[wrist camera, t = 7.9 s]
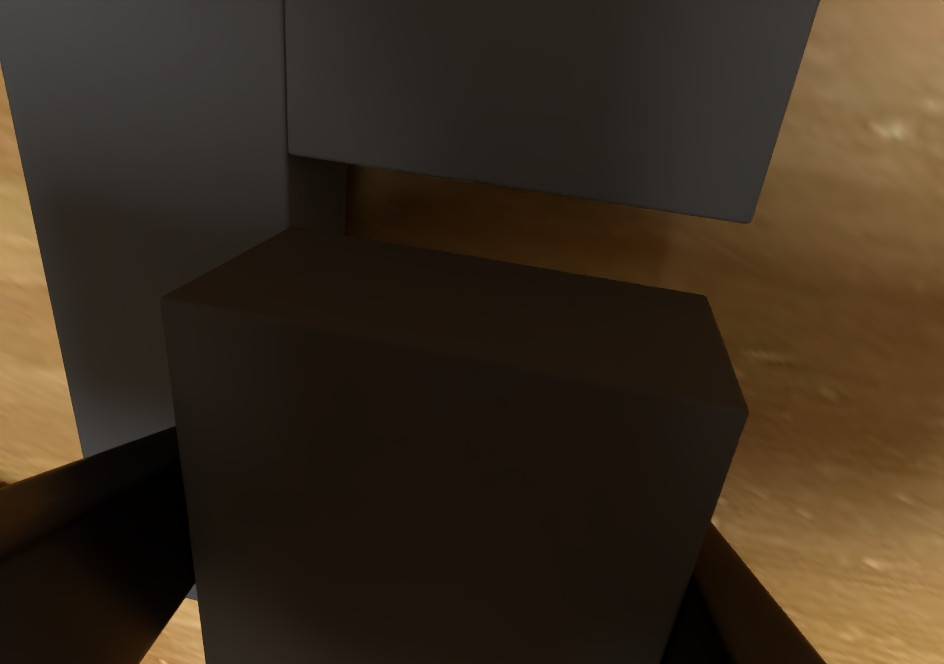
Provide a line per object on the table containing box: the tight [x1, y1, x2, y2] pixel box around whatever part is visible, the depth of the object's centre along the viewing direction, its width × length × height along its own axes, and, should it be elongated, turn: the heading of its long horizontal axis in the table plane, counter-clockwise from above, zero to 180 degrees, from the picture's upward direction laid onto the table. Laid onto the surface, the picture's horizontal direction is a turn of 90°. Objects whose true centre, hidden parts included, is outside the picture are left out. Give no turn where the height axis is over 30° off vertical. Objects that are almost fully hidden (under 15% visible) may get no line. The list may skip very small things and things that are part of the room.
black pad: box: [160, 226, 749, 664], centre depth 9 cm, size 6×6×3 cm
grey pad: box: [0, 0, 820, 601], centre depth 12 cm, size 14×12×2 cm
